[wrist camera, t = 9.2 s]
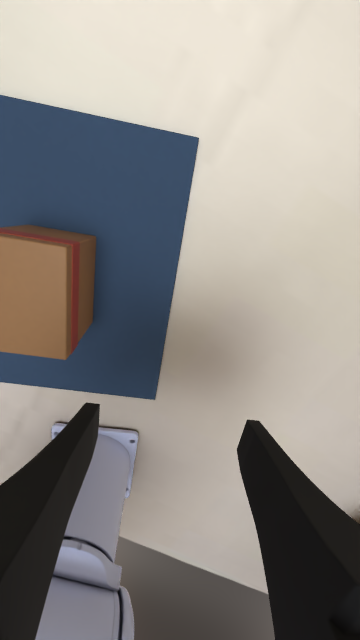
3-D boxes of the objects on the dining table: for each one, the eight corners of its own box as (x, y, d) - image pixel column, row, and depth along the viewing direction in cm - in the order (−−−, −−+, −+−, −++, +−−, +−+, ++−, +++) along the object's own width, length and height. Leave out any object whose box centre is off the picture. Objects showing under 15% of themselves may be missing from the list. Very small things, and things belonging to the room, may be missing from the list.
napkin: (155, 397, 23) (154, 399, 23) (-32, 376, 22) (-35, 378, 22) (198, 139, 16) (199, 137, 16) (-85, 77, 14) (-90, 75, 14)
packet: (93, 323, 20) (67, 361, 15) (31, 314, 20) (-17, 350, 15) (97, 235, 18) (67, 245, 12) (26, 223, 17) (-34, 229, 12)
